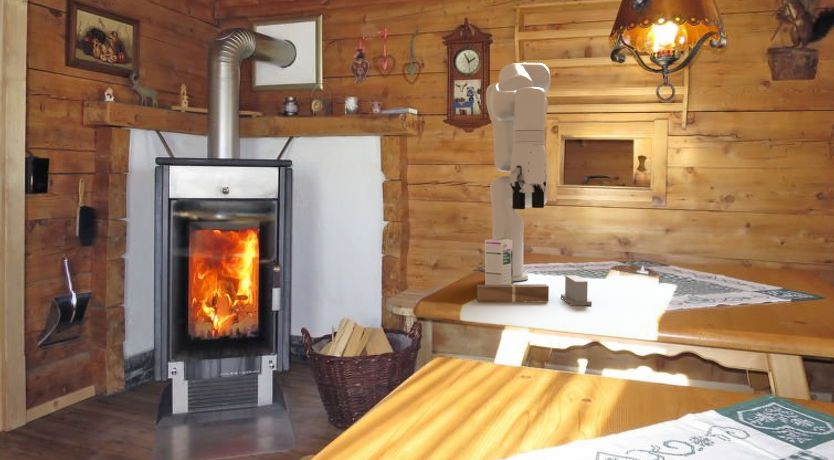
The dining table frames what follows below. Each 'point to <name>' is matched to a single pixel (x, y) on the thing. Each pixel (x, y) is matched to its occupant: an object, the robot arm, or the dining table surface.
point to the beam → (512, 293)
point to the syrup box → (498, 261)
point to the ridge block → (576, 291)
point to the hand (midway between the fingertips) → (528, 208)
